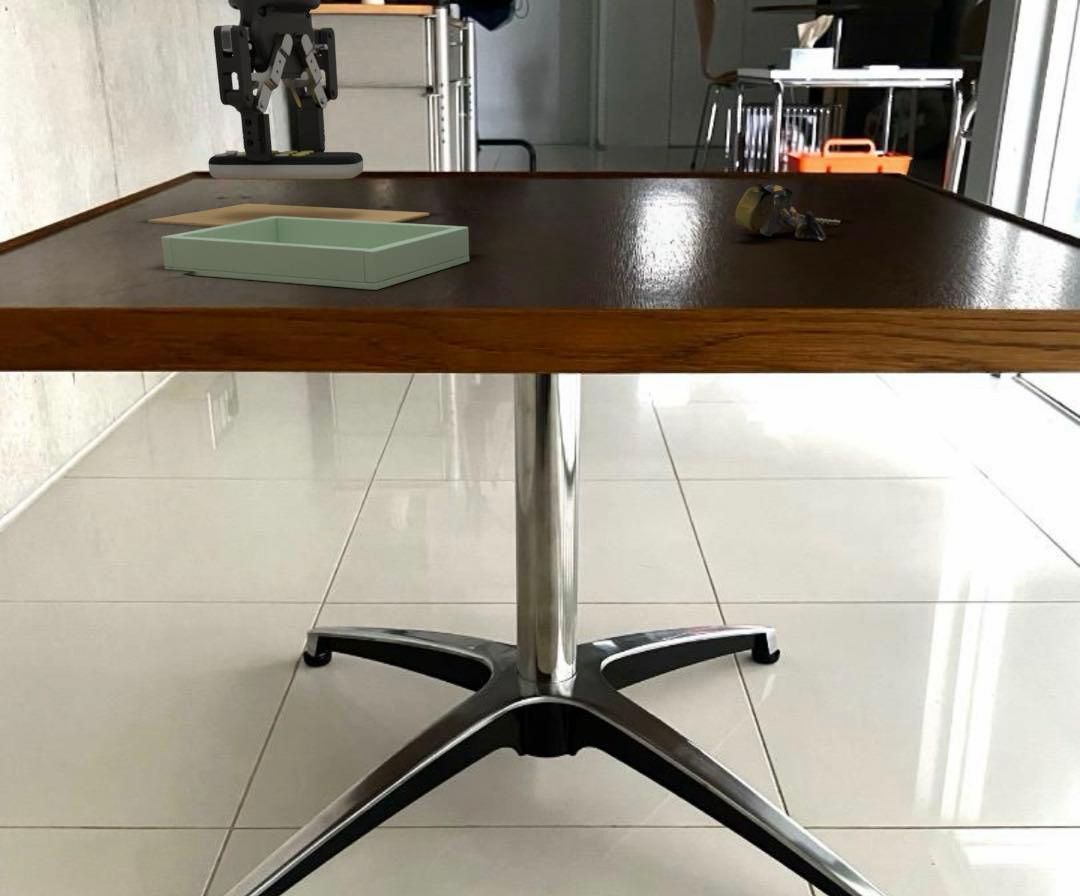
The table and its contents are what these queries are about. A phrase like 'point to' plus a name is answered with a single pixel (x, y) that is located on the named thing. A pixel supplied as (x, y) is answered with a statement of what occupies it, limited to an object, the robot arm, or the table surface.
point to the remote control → (287, 165)
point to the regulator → (776, 213)
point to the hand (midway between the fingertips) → (286, 156)
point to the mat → (284, 214)
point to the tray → (318, 251)
